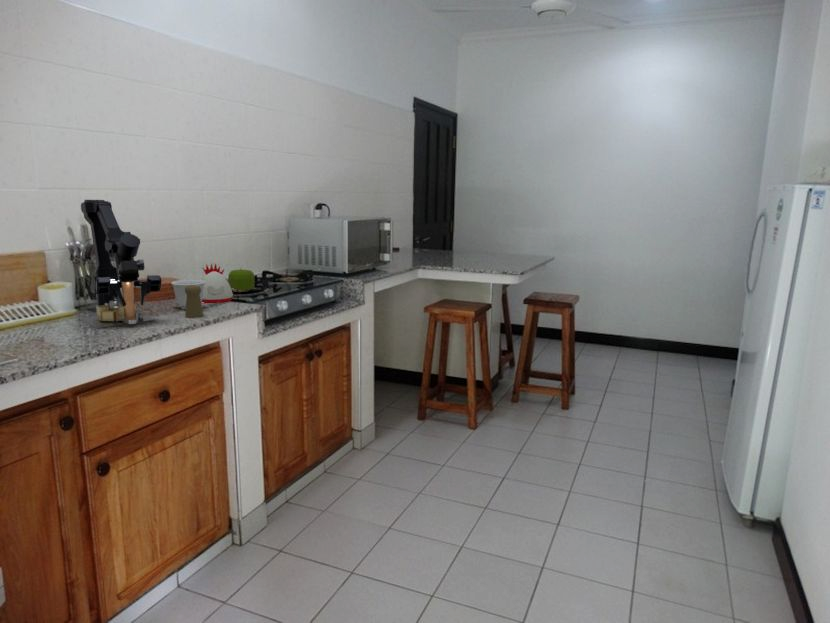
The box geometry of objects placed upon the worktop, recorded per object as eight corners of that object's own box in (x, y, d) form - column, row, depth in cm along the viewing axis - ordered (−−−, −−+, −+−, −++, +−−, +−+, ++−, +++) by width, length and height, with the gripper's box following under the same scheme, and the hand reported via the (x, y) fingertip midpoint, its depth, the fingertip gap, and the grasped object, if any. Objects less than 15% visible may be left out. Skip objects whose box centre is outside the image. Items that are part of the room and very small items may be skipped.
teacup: (182, 314, 204) (180, 286, 202) (167, 307, 215) (166, 281, 213) (215, 310, 212) (214, 283, 210) (199, 304, 223) (198, 278, 221)
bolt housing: (78, 319, 192) (77, 300, 191) (134, 312, 205) (133, 294, 203) (97, 328, 180) (95, 308, 178) (155, 320, 192) (154, 301, 191)
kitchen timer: (196, 298, 235) (194, 262, 232) (231, 296, 240) (229, 261, 238) (197, 304, 223) (195, 266, 220) (234, 302, 228) (233, 265, 225)
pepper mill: (205, 314, 204) (204, 283, 202) (200, 318, 198) (198, 286, 196) (188, 314, 204) (186, 283, 202) (182, 317, 198) (180, 286, 196)
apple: (240, 295, 243) (239, 270, 241) (223, 293, 249) (222, 268, 247) (260, 292, 253) (259, 267, 250) (243, 289, 258) (242, 265, 256)
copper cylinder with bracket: (93, 317, 192) (90, 276, 189) (128, 313, 200) (125, 274, 197) (114, 327, 178) (110, 284, 175) (150, 322, 186) (147, 281, 183)
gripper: (94, 251, 178) (100, 291, 171) (158, 250, 188) (167, 288, 181) (93, 274, 185) (99, 313, 178) (155, 272, 196) (163, 309, 189)
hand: (133, 305), depth 181 cm, fingers open, 5 cm apart
